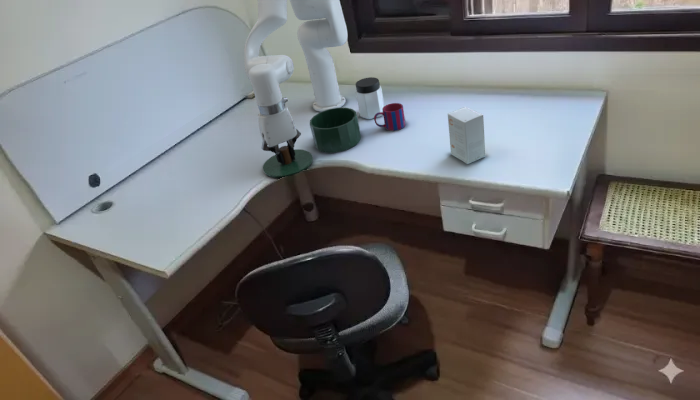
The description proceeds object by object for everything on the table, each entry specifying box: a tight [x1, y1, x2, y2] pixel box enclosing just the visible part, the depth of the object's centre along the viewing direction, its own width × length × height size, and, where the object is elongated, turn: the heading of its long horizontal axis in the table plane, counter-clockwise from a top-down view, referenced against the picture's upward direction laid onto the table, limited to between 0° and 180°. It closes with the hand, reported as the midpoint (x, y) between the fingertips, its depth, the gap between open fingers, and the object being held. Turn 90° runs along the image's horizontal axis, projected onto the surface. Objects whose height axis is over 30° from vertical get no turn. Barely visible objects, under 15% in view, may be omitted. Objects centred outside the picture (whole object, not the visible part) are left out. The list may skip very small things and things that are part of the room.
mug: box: [373, 102, 406, 132], centre depth 170 cm, size 7×10×7 cm
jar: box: [355, 76, 385, 120], centre depth 180 cm, size 9×8×12 cm
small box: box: [447, 106, 486, 165], centre depth 144 cm, size 8×6×13 cm
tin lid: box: [262, 145, 314, 178], centre depth 161 cm, size 16×16×6 cm
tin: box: [309, 107, 362, 154], centre depth 168 cm, size 15×15×8 cm
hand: (287, 160), depth 162 cm, fingers closed on tin lid, 3 cm apart
